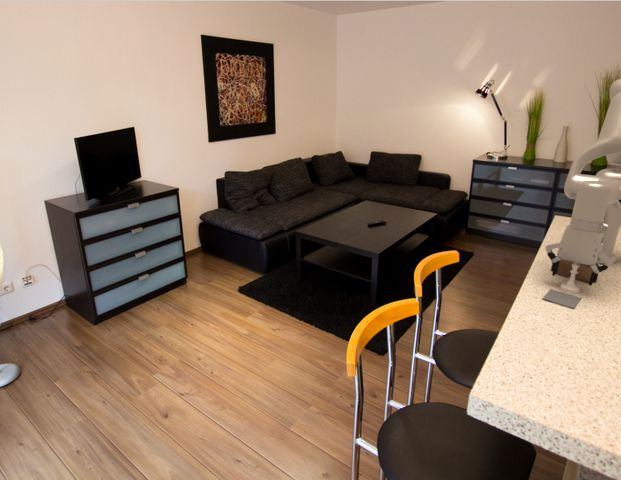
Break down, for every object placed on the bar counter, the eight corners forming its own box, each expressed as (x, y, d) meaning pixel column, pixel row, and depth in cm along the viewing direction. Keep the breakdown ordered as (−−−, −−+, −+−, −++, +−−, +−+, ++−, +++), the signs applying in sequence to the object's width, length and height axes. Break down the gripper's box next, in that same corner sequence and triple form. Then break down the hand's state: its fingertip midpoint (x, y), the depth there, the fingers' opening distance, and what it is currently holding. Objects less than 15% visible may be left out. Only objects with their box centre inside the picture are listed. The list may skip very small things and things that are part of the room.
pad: (550, 290, 122) (550, 289, 122) (581, 299, 117) (581, 297, 117) (542, 299, 117) (542, 298, 117) (574, 309, 112) (574, 308, 112)
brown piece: (558, 269, 136) (565, 235, 132) (593, 278, 130) (602, 243, 126) (553, 274, 133) (561, 239, 129) (589, 283, 126) (598, 247, 122)
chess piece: (582, 293, 120) (590, 262, 117) (563, 291, 121) (571, 261, 118) (575, 286, 125) (583, 255, 122) (557, 284, 126) (564, 254, 122)
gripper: (625, 228, 113) (609, 283, 119) (555, 215, 124) (544, 267, 130) (620, 234, 108) (604, 292, 114) (548, 221, 119) (536, 274, 125)
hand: (572, 278), depth 122 cm, fingers open, 9 cm apart
